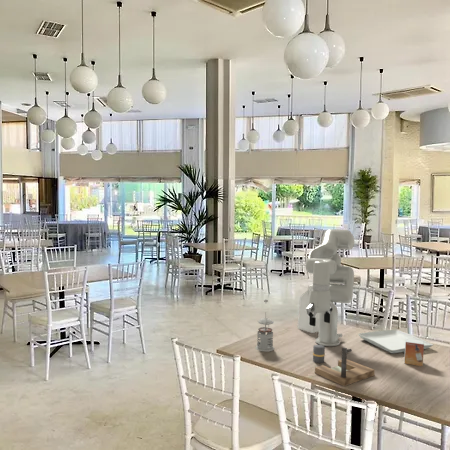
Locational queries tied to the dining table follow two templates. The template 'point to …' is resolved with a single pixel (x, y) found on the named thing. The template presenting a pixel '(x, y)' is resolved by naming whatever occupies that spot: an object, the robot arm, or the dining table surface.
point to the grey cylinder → (318, 353)
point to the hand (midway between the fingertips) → (319, 323)
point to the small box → (414, 352)
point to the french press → (265, 340)
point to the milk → (303, 316)
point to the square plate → (391, 340)
